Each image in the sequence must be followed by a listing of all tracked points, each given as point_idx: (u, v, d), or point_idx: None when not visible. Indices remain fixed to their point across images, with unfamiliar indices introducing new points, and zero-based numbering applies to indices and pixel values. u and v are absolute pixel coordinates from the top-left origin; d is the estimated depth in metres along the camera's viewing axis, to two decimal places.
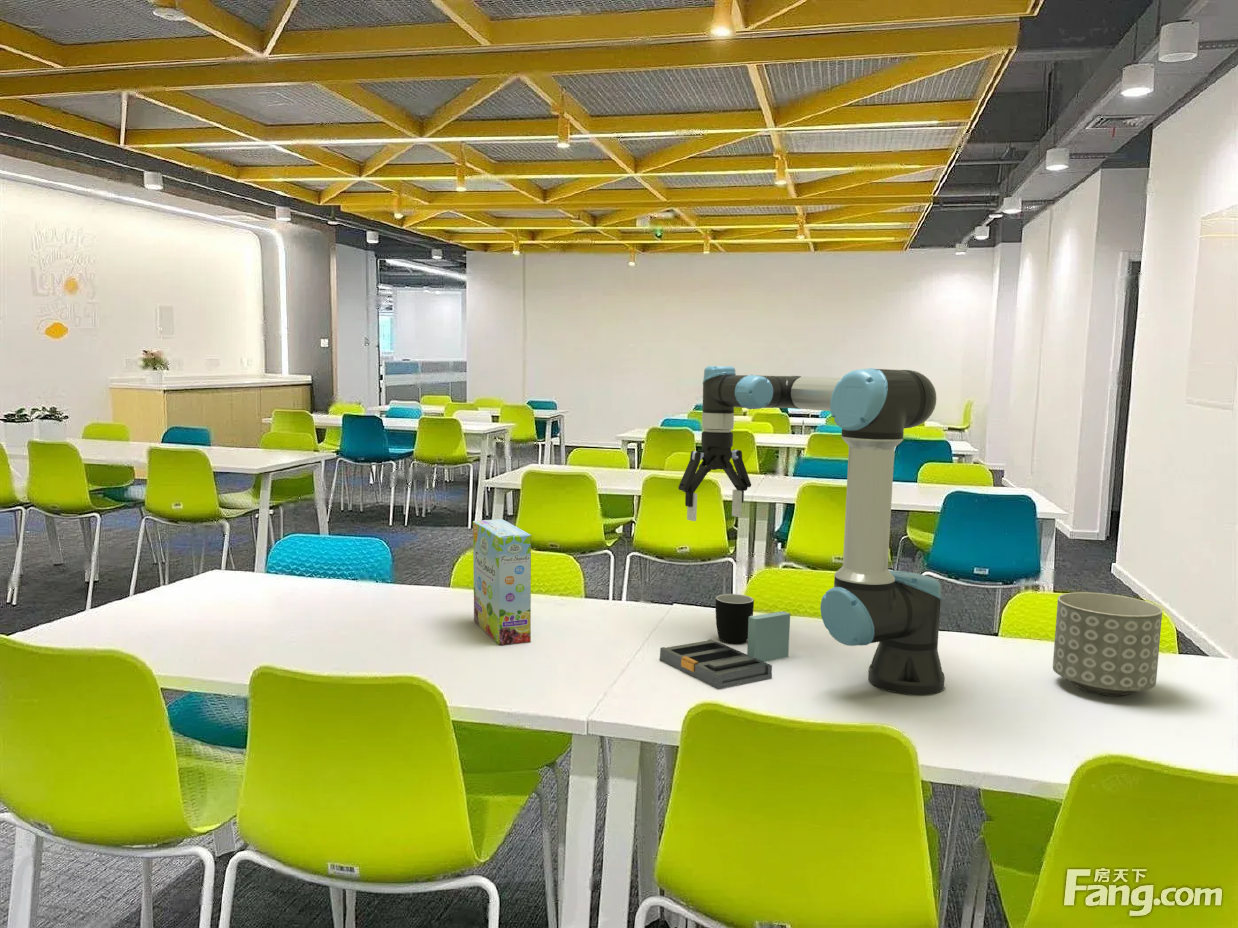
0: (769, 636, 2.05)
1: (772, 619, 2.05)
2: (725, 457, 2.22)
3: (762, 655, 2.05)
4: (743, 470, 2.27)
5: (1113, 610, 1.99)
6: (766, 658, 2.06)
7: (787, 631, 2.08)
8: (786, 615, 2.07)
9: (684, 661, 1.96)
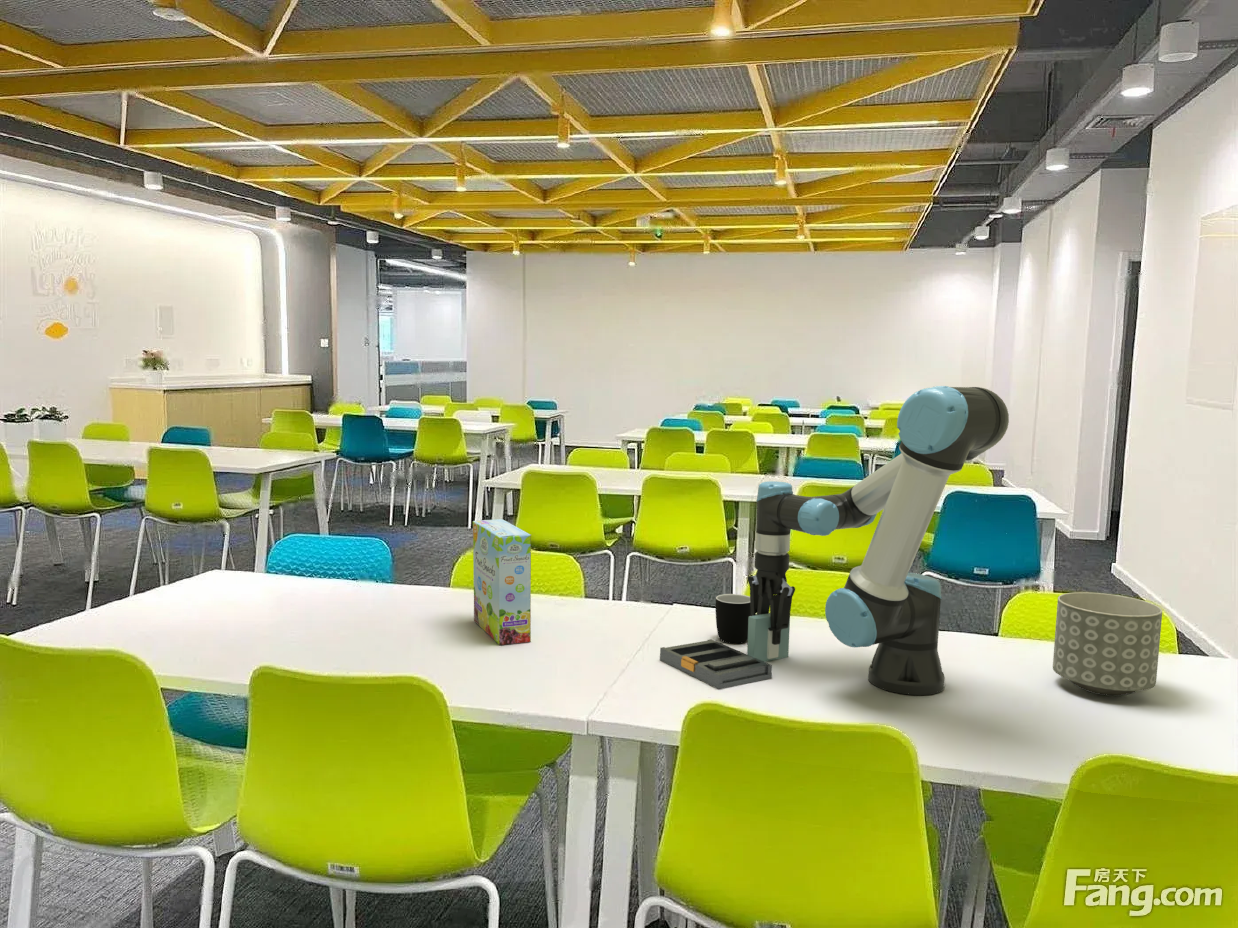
0: None
1: None
2: (768, 581, 2.03)
3: (762, 655, 2.05)
4: (780, 608, 2.02)
5: (1113, 610, 1.99)
6: (766, 658, 2.06)
7: (787, 631, 2.08)
8: None
9: (684, 661, 1.96)
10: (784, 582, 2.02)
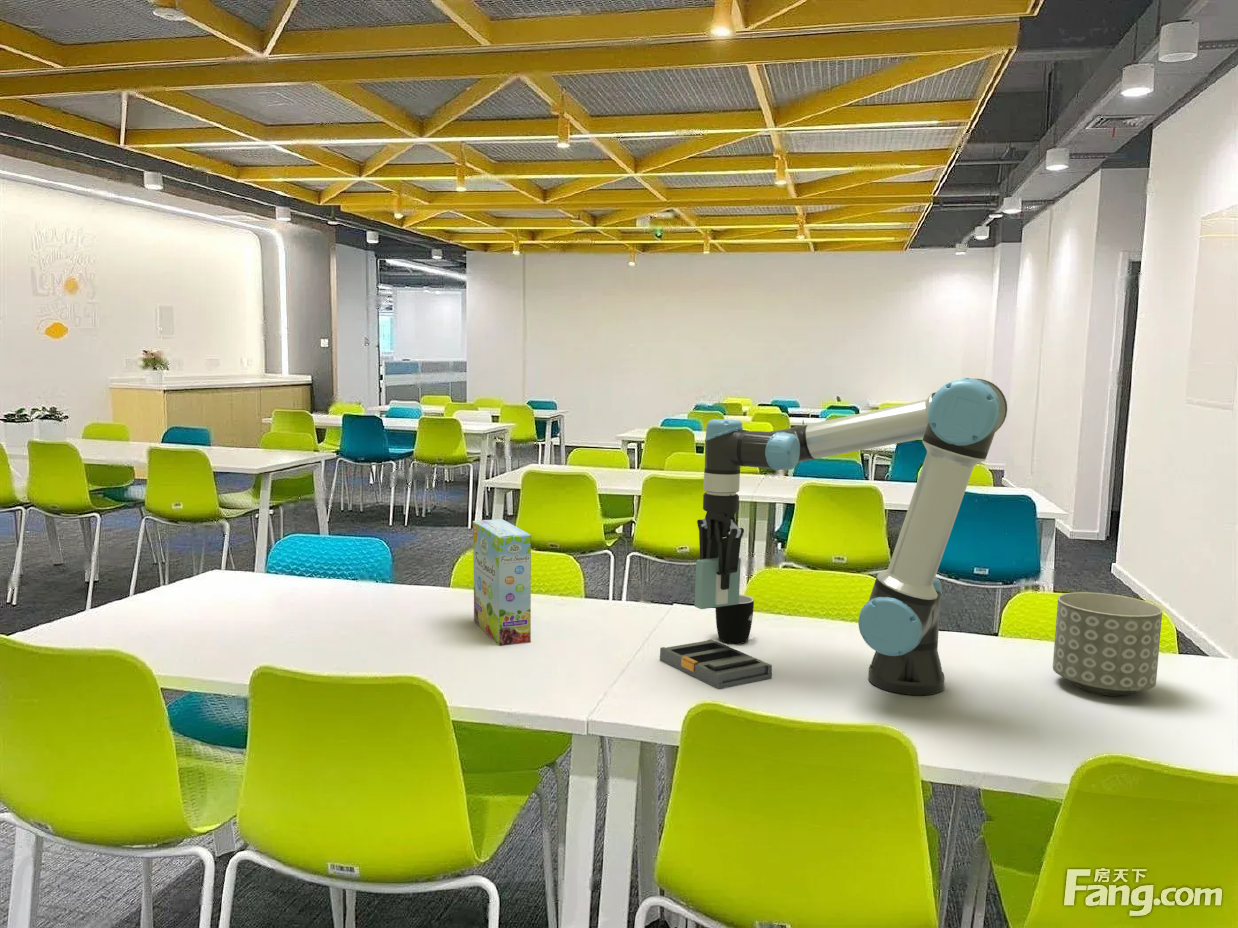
0: None
1: None
2: (716, 523, 1.94)
3: (710, 600, 1.96)
4: (728, 551, 1.92)
5: (1113, 610, 1.99)
6: (715, 604, 1.97)
7: (737, 576, 1.99)
8: None
9: (684, 661, 1.96)
10: (733, 523, 1.93)
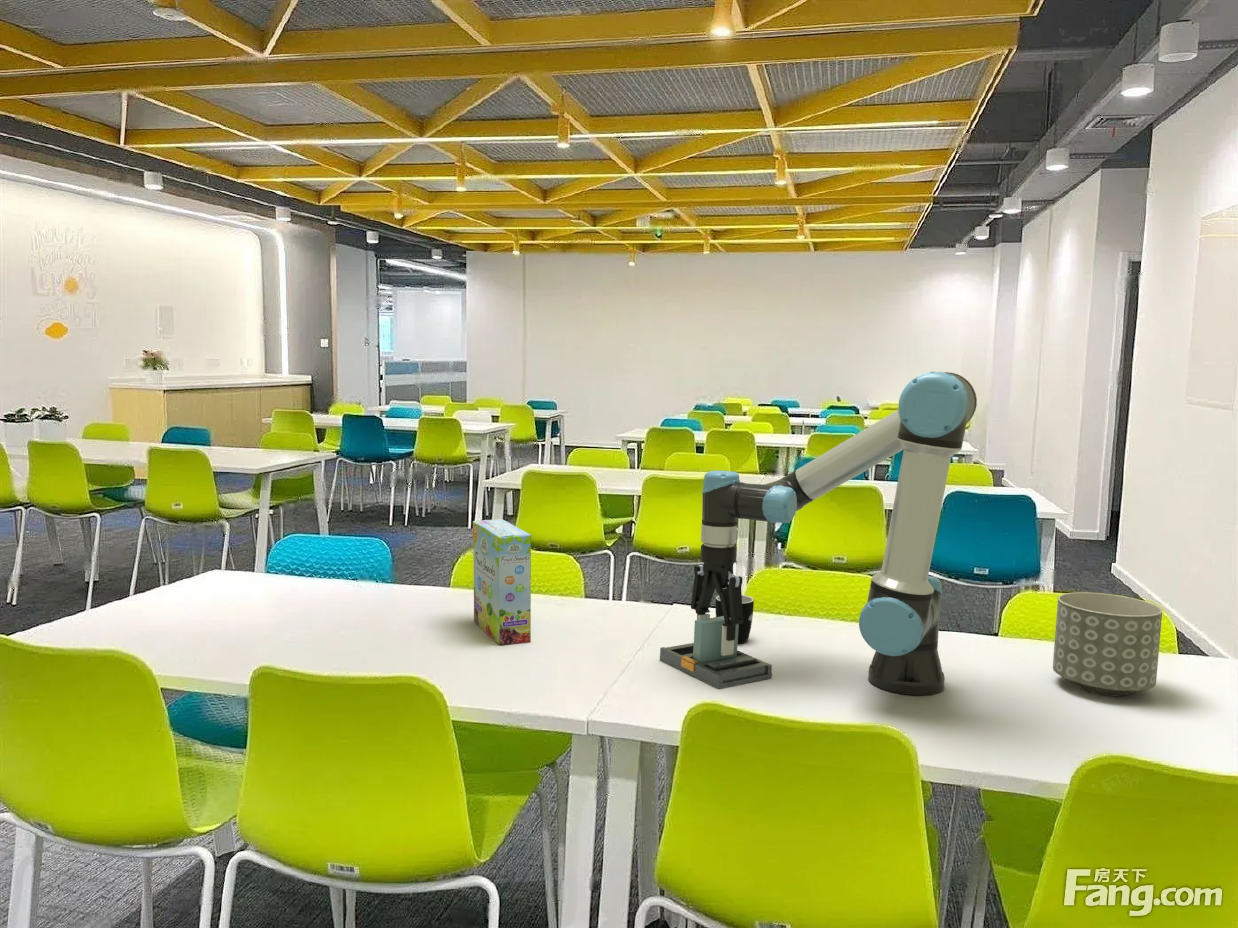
0: (716, 641, 1.97)
1: (719, 623, 1.97)
2: (714, 575, 1.95)
3: (708, 660, 1.97)
4: (730, 601, 1.92)
5: (1113, 610, 1.99)
6: None
7: (735, 635, 2.00)
8: None
9: (684, 661, 1.96)
10: None
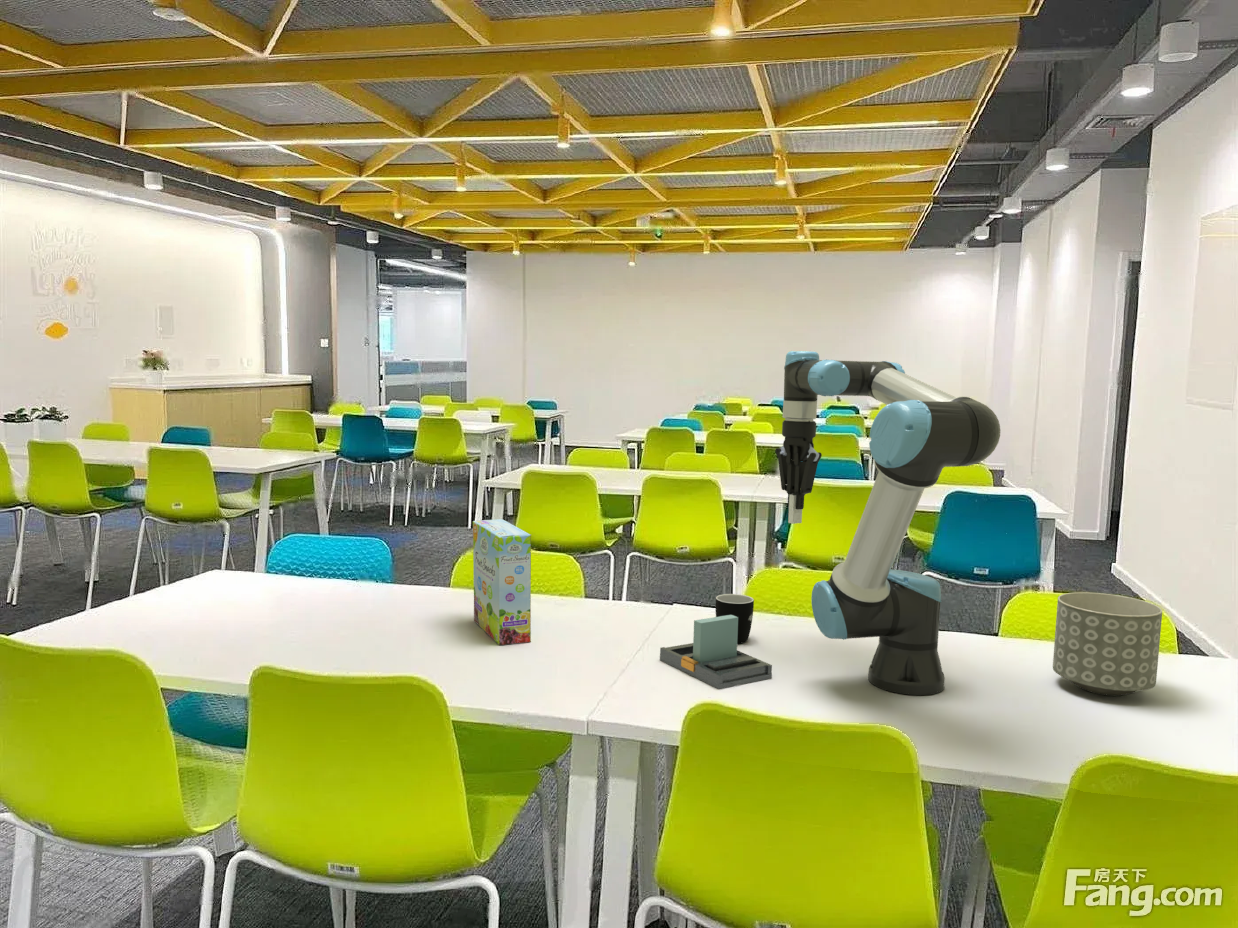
0: (716, 641, 1.97)
1: (719, 623, 1.97)
2: (795, 448, 2.09)
3: (708, 660, 1.97)
4: (805, 473, 2.08)
5: (1113, 610, 1.99)
6: None
7: (735, 635, 2.00)
8: (734, 619, 1.99)
9: (684, 661, 1.96)
10: (811, 447, 2.07)
